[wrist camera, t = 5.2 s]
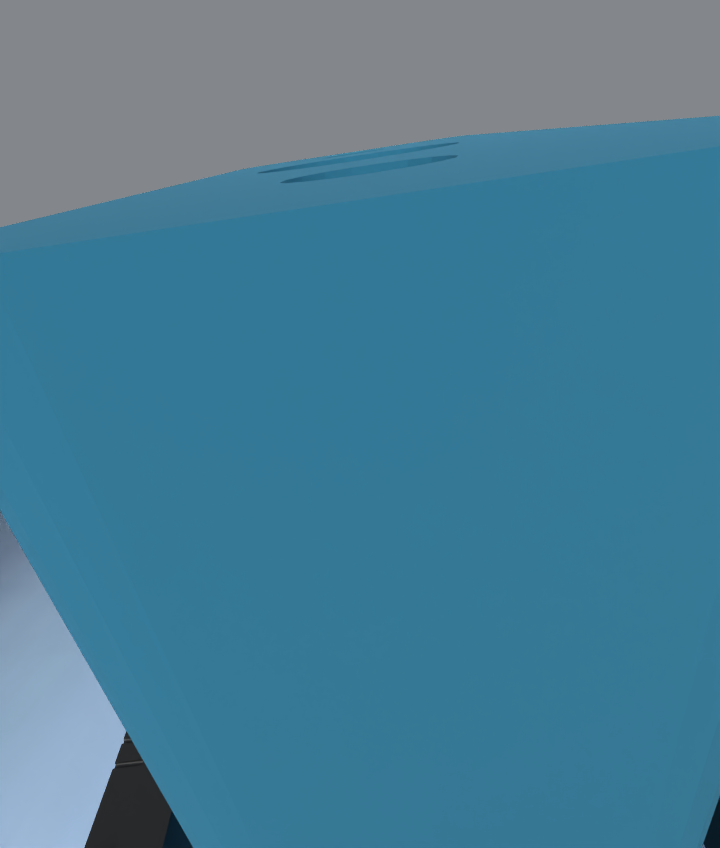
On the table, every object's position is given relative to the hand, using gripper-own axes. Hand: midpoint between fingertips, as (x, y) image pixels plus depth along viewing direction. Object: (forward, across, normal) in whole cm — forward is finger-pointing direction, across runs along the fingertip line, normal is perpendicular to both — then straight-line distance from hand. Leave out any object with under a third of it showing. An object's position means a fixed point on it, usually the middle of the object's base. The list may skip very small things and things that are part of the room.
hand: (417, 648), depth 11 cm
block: (+1, 0, +11) cm, 11 cm away
